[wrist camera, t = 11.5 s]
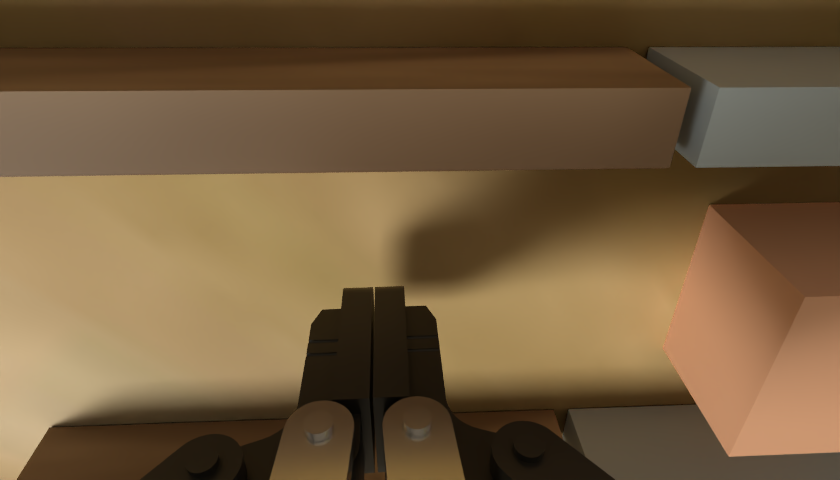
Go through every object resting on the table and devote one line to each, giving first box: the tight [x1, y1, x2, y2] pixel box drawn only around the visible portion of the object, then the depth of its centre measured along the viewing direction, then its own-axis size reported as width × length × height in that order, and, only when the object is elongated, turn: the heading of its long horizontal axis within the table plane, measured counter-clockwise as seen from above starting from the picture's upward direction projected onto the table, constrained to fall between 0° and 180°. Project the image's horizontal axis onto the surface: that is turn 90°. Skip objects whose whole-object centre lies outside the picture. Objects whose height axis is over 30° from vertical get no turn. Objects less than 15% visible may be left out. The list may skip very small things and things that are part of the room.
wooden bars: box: [0, 47, 691, 480], centre depth 14 cm, size 13×16×3 cm
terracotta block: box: [663, 202, 840, 457], centre depth 14 cm, size 5×5×4 cm
